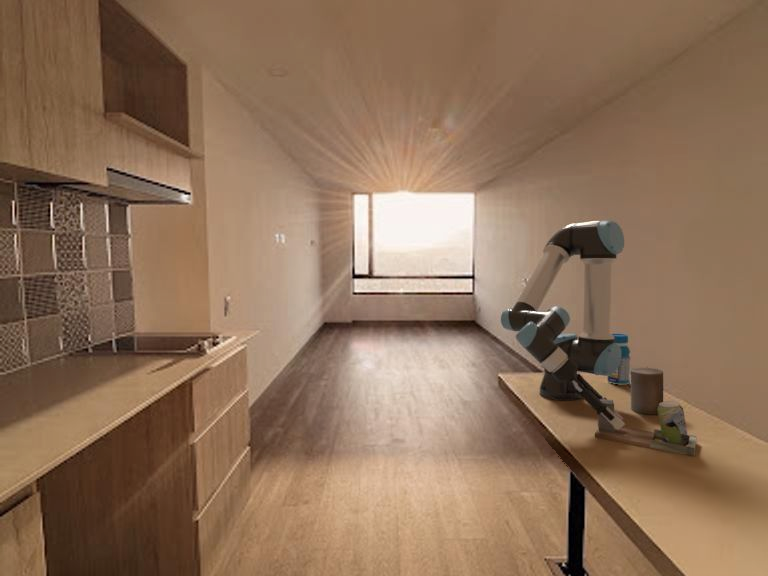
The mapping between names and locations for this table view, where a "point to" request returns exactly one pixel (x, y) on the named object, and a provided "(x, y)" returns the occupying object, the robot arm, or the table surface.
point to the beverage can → (672, 423)
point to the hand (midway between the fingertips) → (620, 423)
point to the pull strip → (639, 435)
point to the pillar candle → (646, 390)
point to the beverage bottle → (621, 362)
